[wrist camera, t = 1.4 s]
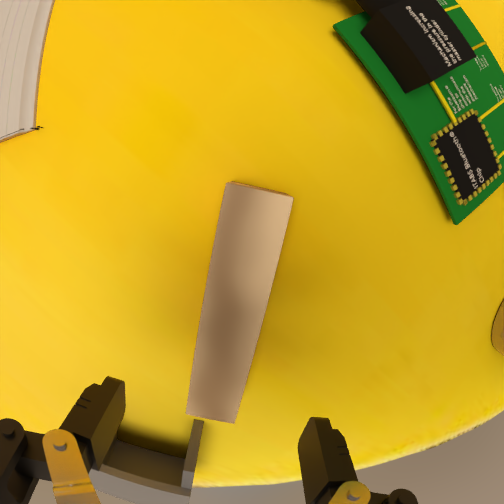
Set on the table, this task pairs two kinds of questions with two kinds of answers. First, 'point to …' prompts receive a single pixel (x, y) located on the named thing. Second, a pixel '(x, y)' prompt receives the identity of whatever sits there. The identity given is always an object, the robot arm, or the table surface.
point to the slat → (236, 297)
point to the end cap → (148, 472)
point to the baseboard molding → (21, 63)
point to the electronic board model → (437, 90)
